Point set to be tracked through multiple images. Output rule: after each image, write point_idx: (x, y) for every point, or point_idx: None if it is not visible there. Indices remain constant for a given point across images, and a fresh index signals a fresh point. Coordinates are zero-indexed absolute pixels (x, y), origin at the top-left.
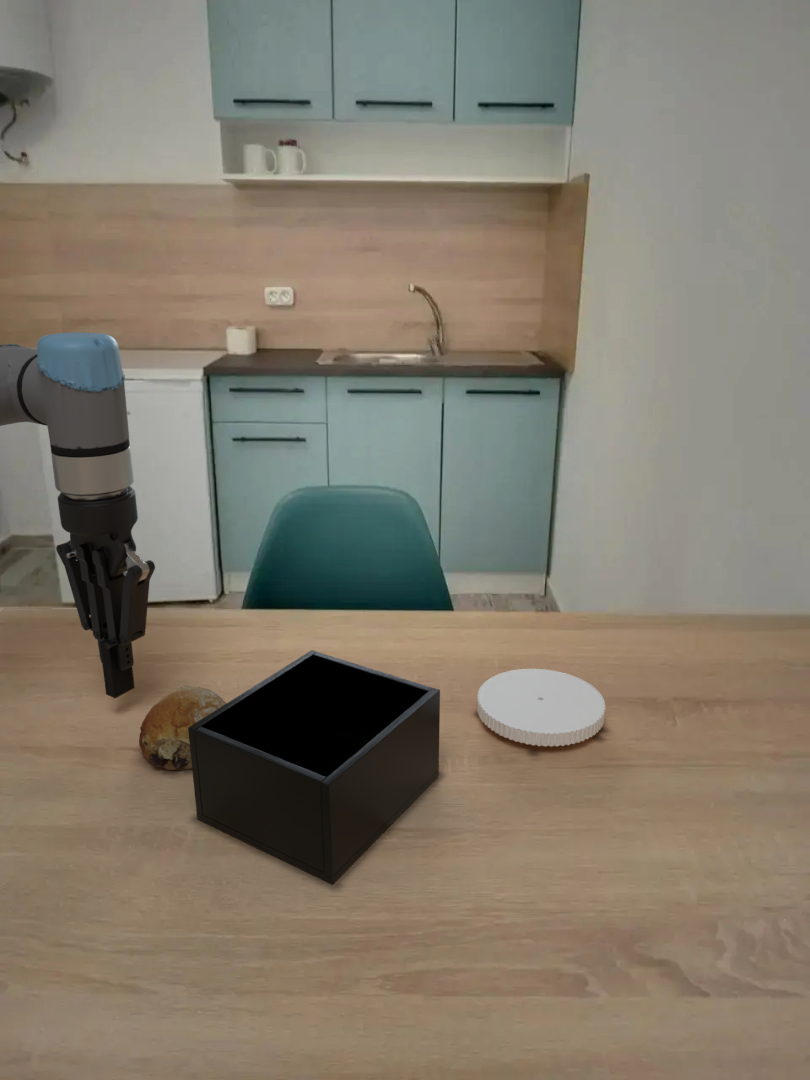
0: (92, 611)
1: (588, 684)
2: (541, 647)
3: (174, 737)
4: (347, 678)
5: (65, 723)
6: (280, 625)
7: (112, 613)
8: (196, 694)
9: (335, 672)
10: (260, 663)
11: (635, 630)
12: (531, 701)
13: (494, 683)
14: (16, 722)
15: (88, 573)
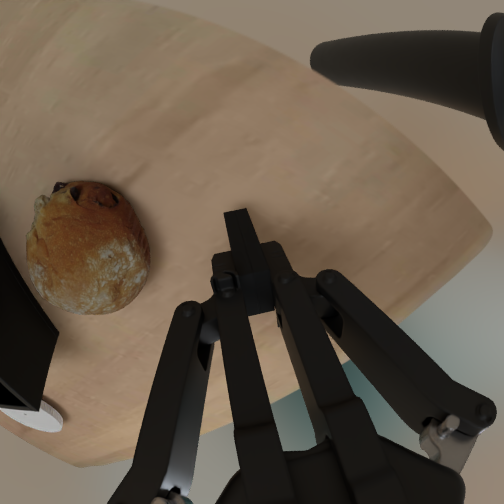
0: (310, 322)
1: (34, 428)
2: (104, 440)
3: (35, 227)
4: (4, 392)
5: (274, 138)
6: (266, 388)
7: (225, 356)
8: (61, 298)
9: (12, 395)
10: (214, 359)
11: (99, 456)
12: (23, 411)
13: (49, 417)
14: (334, 95)
15: (334, 442)
